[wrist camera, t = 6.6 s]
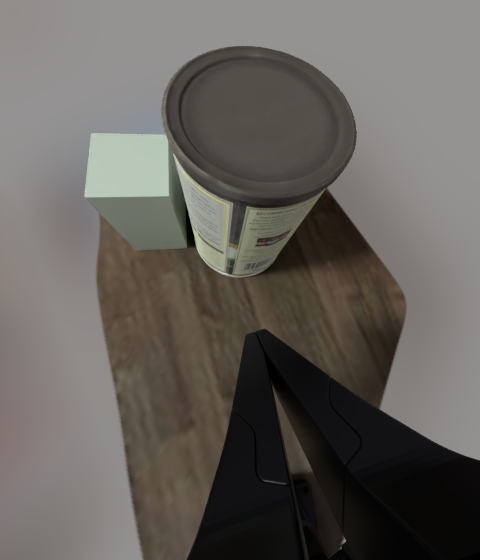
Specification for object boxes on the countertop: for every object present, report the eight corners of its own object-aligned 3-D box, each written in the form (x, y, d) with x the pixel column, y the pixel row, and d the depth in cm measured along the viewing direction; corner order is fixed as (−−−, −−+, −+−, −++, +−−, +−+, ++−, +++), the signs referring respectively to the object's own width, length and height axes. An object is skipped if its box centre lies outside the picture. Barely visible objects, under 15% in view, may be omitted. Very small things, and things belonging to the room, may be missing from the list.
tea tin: (187, 248, 23) (168, 196, 14) (135, 250, 22) (84, 197, 14) (185, 204, 25) (168, 133, 16) (137, 205, 24) (91, 131, 15)
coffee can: (237, 184, 26) (258, 20, 12) (297, 238, 25) (392, 123, 11) (174, 234, 23) (114, 95, 10) (238, 297, 22) (270, 239, 9)
